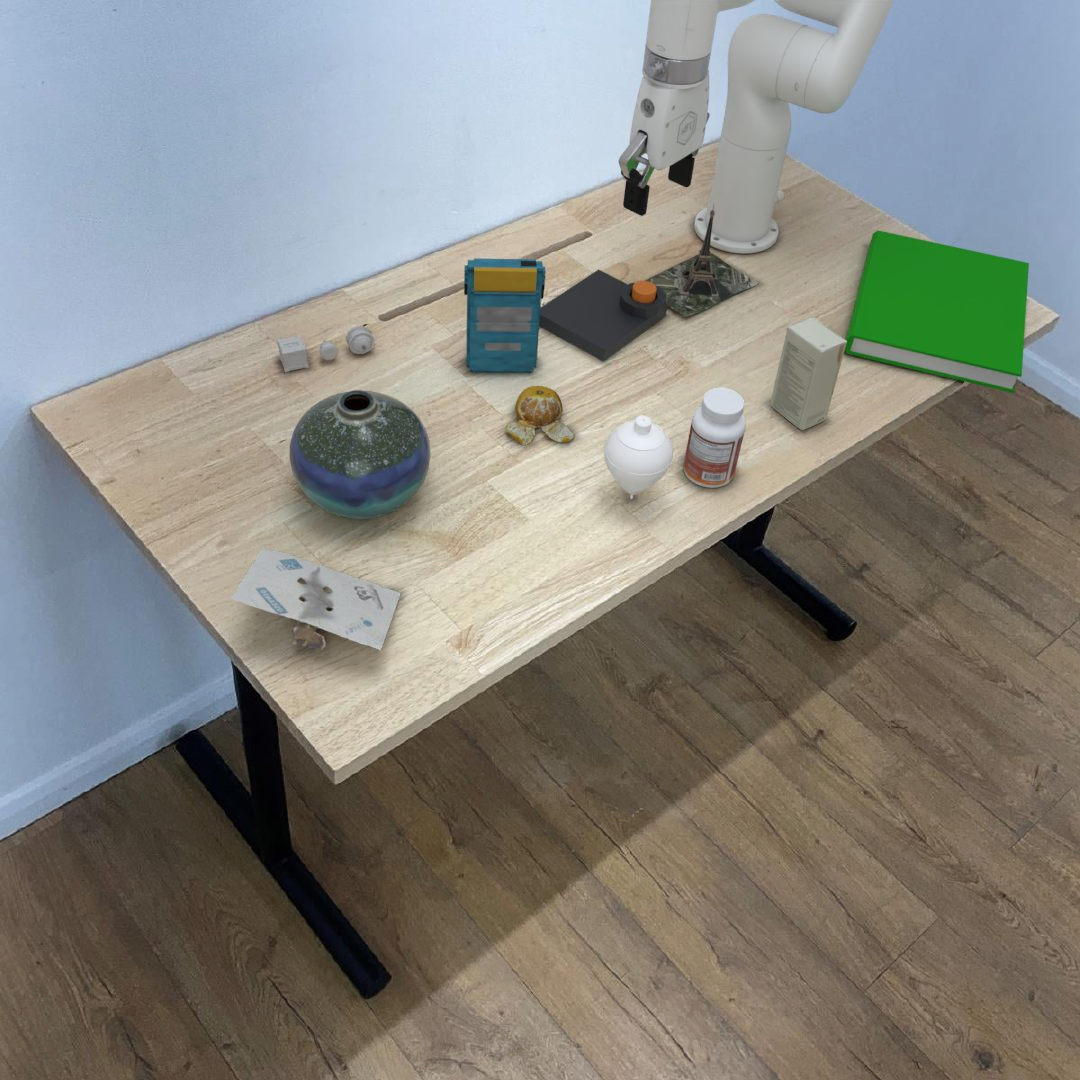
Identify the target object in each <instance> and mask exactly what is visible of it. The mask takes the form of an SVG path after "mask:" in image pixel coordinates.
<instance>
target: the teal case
mask: <svg viewBox="0 0 1080 1080" xmlns="http://www.w3.org/2000/svg"><path fill="white" fill-rule="evenodd" d="M463 273H464V275H463V276H464V277H463V279H464V284H463V288H464V289H463V292H464V293H463V294H464V296H466V343H465V344H466V345H465V346H466V347H465V348H466V351H465V352H466V354H465V356H466V360H465V362H466V364H465V365H466V367H467V368H469V371H472V373H491V374H492V373H498V374H499V373H503V374H504V373H505V374H509V373H510V374H511V373H512V374H531V373H532V371H533V372H534V371H535V368H537V363H538V347H539V336H540V335H539V333H540V326H539V320H540V308H541V304H542V299H543V300H544V298H545V297H544V295H545V286H546V273H547V272H546V266H544V265H543V261H541V260H537V259H531V258H483V257H482V258H477V257H476V258H475V257H473V259H467V264H464V272H463Z"/></svg>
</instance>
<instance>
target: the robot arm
mask: <svg viewBox="0 0 1080 1080" xmlns="http://www.w3.org/2000/svg"><path fill="white" fill-rule="evenodd" d="M755 1H756V0H650V5H649V6H650V7H649V14H648V20H647V21H648V22H647V30H646V39H645V46H644V55H643V64H642V71H641V72H642V76H643V77H641V80H640V81H641V82H640V85H639V88H638V93H637V97H636V100H635V106H634V110H633V116H632V122H631V128H630V134H629V144H628V145H627V147H626V148H625V150H624V151H623V152H622V153H621V155H620V156H619V158H618V166H619V169H620V174H621V177H623V180H624V181H625V183H624V184H625V186H624V193H623V202H622V206H623V208H624V209H625V210H628V211H629V212H632V213H634V214H636V215H638V216H640V217H643V216H645V215H647V210H648V202H649V195H650V189H651V187H650V185H649V184H648V182H649V181H650V178H651V176H652V175H653V172H654V170H655V171H663V170H666V169H668V174H667V179H668V180H669V181H671V182H672V183H675V184H677V185H679V186H682V187H683V188H689V187H690V186H691V185H692V179H693V173H694V167H695V161H696V156H697V155H698V154H699V151H700V147H701V146H702V144H703V143H704V140H705V135H706V130H707V129H706V128H707V124H708V121H709V119H710V116H711V114H710V112H708V110H709V101H710V100H709V99H710V69H709V67H710V60H711V56H712V55H711V54H712V49H713V42H714V37H715V32H716V31H715V30H716V25H717V18H718V15H719V13H720V12H725V11H728V10H735V9H739V8H742V7H745V6H748V5H750V4H751V3H753V2H755ZM774 2H775V3H776V4H777V5H778V6H780V8H782V9H784V10H786V11H788V12H791V13H793V14H796V15H797V16H798V15H799V16H801V17H805V18H807V19H811V20H813V21H816V22H819V23H822V24H825V25H829V26H832V27H836V28H837V30H836V32H835V34H834V33H830V32H828V31H824V30H821V29H818V28H815V27H812V26H810V25H808V24H805V23H801V22H797V21H795V20H792V19H789V18H786V17H782V16H778V15H774V14H767V13H758V14H754V15H750V16H748V17H746V18H744V19H743V20H742V21H741V22H740V23H739V24H738V25H737V26H736V28H735V30H734V31H733V33H732V35H731V38H730V42H729V46H728V51H727V90H726V91H727V93H726V102H725V109H724V115H723V122H722V127H721V132H720V136H719V137H720V138H719V142H718V143H719V144H718V148H717V155H716V159H715V165H714V171H713V176H712V182H711V187H710V192H709V198H708V203H707V206H705V207H704V208H701V210H700V211H698V212H697V214H696V215H695V218H694V225H693V229H694V232H695V233H696V235H697V236H698V238H699V239H701V241H703V242H704V239H705V235H706V231H707V227H708V223H709V219H710V212H711V210H714V212H715V216H714V217H713V224H712V232H711V241H710V247H713V248H715V249H717V250H720V251H723V252H727V253H732V254H754V253H760V252H762V251H766V250H767V249H769V248H771V247H773V245H775V243H776V242H777V240H778V236H779V226H778V223H777V222H776V220H775V219H774V218H773V217H772V216H773V211H774V208H775V206H777V204H779V203H780V202H782V201H783V200H784V198H785V193H784V192H783V190H782V189H780V188H779V185H780V181H781V177H782V173H783V167H784V163H785V160H786V159H785V158H786V154H787V149H788V145H789V140H790V137H791V132H792V113H791V108H790V104H792V105H793V106H797V107H800V108H803V109H806V110H809V111H812V112H815V113H819V114H827V115H828V114H832V113H835V112H837V111H838V110H840V109H841V108H842V107H843V106H844V104H845V103H846V102H847V100H848V99H849V97H850V95H851V93H852V91H853V90H854V88H855V85H856V84H857V81H858V79H859V77H860V75H861V73H862V71H863V69H864V66H865V65H866V62H867V61H868V58H869V56H870V54H871V52H872V50H873V47H874V45H875V43H876V41H877V39H878V37H879V35H880V33H881V30H882V29H883V27H884V25H885V22H886V19H887V18H888V15H889V13H890V10H891V8H892V5H893V2H894V0H774ZM645 154H646V155H647V158H645V157H643V156H644V155H645ZM640 164H642V165H644V166H645V168H644V170H643V172H642V174H641V172H640V171H639V170H637V168H638V166H639V165H640ZM713 206H714V209H713Z"/></svg>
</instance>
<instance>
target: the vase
mask: <svg viewBox="0 0 1080 1080" xmlns="http://www.w3.org/2000/svg"><path fill="white" fill-rule="evenodd" d="M431 454H432V453H431V441H430V438H429V435H428V432H427V429H426V426H425V425H424V423H423V422H422V420H421V418H420V417H419V416H418V414H417V413H415V411H414V410H413V409H412V408H411V407H409V406H408V405H407V404H405V403H404V402H403V401H401V400H400V399H397V398H395V397H394V396H391V395H389V394H385V393H382V392H378V391H373V390H362V389H361V390H360V389H354V390H349V391H344V392H343V391H342V392H339V393H336V394H333V395H330V396H328V397H326V398H323V399H321V400H320V401H318V402H317V403H315V404H314V405H312V406H311V407H310V408H309V409H307V411H306V412H304V414H303V415H302V416H301V417H300V418H299V420H298V422H297V423H296V425H295V427H294V429H293V432H292V435H291V438H290V442H289V463H290V468H291V470H292V474H293V477H294V479H295V481H296V483H297V485H298V486H299V488H300V489H301V491H302V492H303V493H304V495H305V496H306V498H308V499H309V500H310V501H311V502H312V503H313V504H315V505H316V506H317V507H319V508H321V509H322V510H324V511H325V512H328V513H329V514H332V515H334V516H337V517H342V518H347V519H353V520H368V519H375V518H379V517H383V516H386V515H388V514H391V513H393V512H396V511H398V510H399V509H400V508H402V507H403V506H404V505H406V504H407V503H408V502H409V501H411V500H412V499H413V497H415V495H416V494H417V492H418V491H419V490H420V488H421V487H422V485H423V484H424V482H425V480H426V477H427V475H428V471H429V469H430V463H431V462H430V461H431Z"/></svg>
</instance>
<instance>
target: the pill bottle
mask: <svg viewBox="0 0 1080 1080" xmlns="http://www.w3.org/2000/svg"><path fill="white" fill-rule="evenodd" d="M744 408H745V400H744V398H743V396H742V395H741V394H740V393H739V392H738V391H736V390H734V389H731V388H728V387H714V388H710V389H708V390H707V391H706V392H705V393H704V395H703V397H702V401H701V405H700V406H698V407H697V408H696V410H695V411H694V413H693V415H692V418H691V421H690V422H691V423H690V426H689V427H690V428H689V433H688V438H687V444H686V449H685V454H684V460H683V466H682V468H683V473H684V474H685V476H686V477H687V478H688V479H689V480H690V482H692V483H693V484H695V485H697V486H700V487H703V488H709V489H714V488H721V487H724V486H726V485H728V483H730V482H731V481H732V480H733V478H734V476H735V473H736V470H737V466H738V461H739V458H740V457H739V456H740V452H741V448H742V444H743V440H744V436H745V432H746V427H747V425H746V418H745V416H744V414H743V413H744Z"/></svg>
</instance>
